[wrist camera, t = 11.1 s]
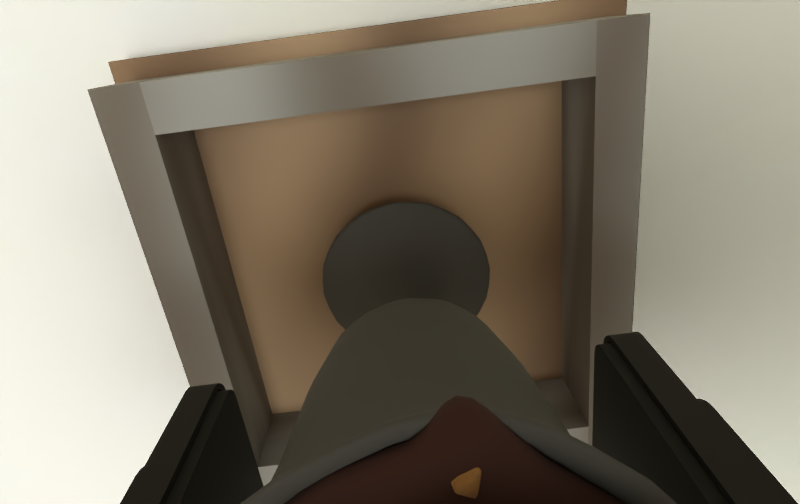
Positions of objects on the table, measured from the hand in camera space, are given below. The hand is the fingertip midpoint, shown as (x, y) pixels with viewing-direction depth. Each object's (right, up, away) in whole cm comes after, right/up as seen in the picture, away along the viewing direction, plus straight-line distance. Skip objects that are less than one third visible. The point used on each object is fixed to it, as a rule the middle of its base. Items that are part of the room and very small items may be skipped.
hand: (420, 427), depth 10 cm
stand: (-1, +3, +8) cm, 9 cm away
